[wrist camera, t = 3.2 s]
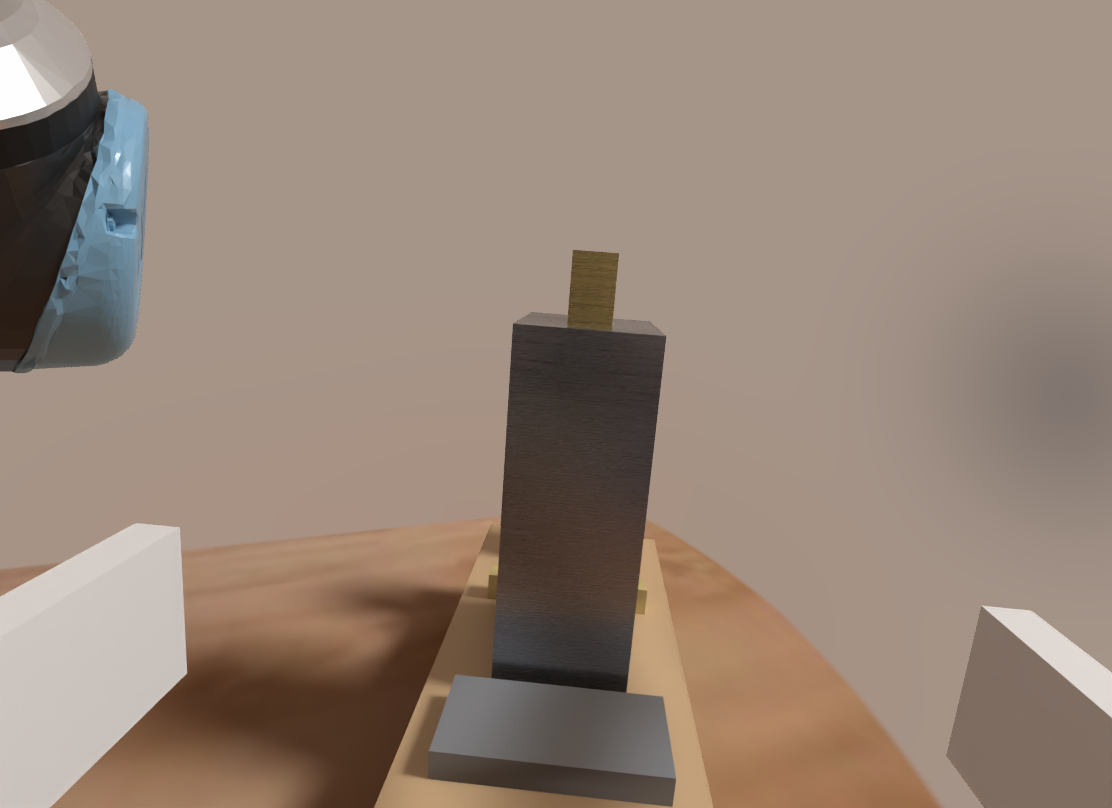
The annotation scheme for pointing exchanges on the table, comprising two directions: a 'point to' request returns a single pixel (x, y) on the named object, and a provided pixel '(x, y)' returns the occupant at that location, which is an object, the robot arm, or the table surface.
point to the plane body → (550, 720)
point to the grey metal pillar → (576, 486)
